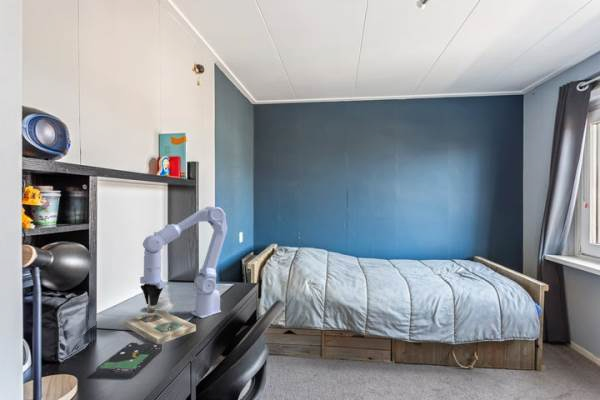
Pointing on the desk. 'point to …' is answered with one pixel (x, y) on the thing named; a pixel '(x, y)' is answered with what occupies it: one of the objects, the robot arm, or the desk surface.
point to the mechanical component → (163, 304)
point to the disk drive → (129, 360)
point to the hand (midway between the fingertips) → (151, 304)
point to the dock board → (159, 326)
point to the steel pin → (150, 308)
